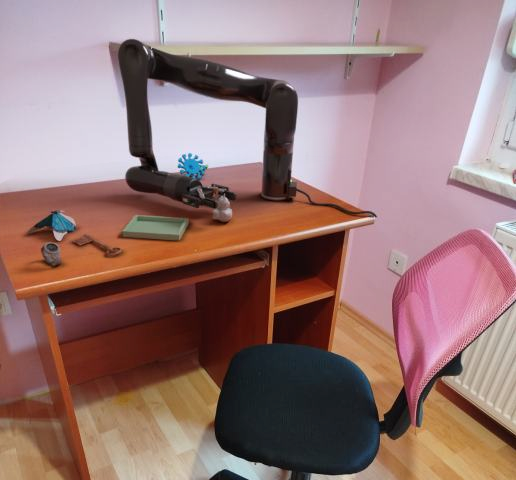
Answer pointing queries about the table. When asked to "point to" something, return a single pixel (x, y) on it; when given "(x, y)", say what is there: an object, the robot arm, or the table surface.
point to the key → (83, 239)
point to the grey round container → (51, 253)
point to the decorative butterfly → (56, 224)
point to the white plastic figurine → (222, 210)
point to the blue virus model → (192, 166)
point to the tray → (156, 227)
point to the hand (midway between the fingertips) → (226, 201)
